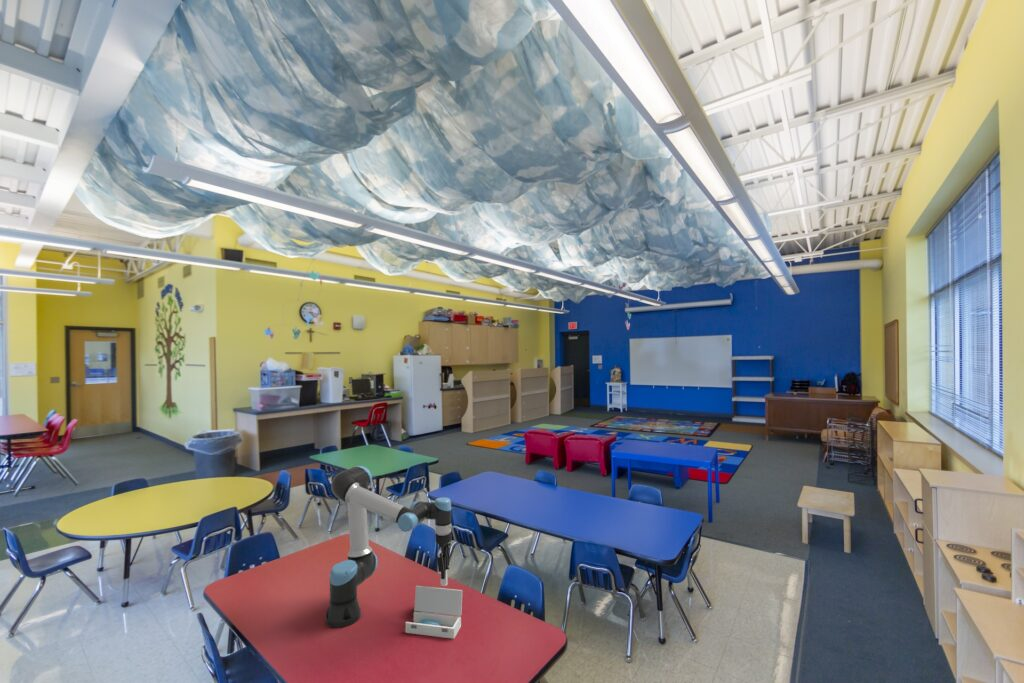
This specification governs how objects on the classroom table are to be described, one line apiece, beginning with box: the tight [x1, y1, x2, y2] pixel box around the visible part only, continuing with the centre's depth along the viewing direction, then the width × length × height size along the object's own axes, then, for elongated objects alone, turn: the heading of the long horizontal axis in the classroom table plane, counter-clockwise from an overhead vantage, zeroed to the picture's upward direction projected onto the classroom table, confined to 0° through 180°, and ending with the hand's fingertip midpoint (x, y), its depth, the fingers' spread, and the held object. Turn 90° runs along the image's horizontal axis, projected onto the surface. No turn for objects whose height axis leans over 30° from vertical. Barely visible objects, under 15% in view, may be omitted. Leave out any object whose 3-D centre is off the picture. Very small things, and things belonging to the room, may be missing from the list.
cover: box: [413, 585, 463, 617], centre depth 194 cm, size 22×10×1 cm
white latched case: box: [405, 611, 462, 640], centre depth 188 cm, size 22×10×4 cm, turn 78°
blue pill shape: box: [419, 620, 441, 626], centre depth 189 cm, size 10×3×3 cm, turn 74°
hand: (444, 584), depth 201 cm, fingers closed
